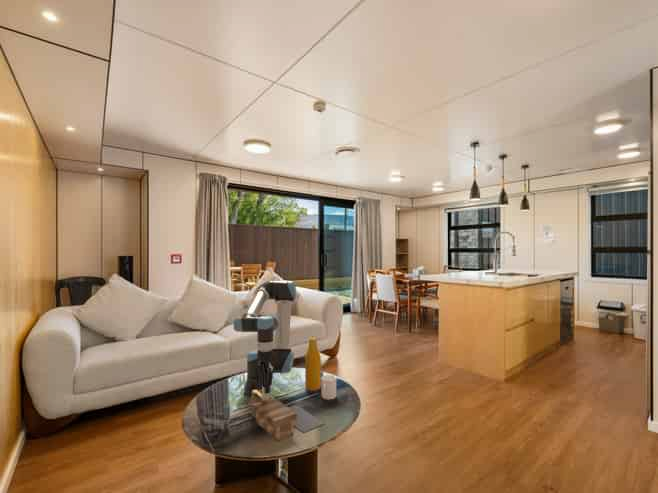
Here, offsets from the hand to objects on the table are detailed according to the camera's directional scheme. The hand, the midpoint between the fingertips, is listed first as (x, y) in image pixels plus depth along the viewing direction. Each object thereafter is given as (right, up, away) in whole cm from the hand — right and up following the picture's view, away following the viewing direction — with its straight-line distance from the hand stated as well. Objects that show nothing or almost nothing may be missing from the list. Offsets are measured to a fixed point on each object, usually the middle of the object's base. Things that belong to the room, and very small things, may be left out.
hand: (265, 399), depth 152 cm
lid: (+5, -4, -7) cm, 9 cm away
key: (-4, -1, +5) cm, 6 cm away
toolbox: (+3, -10, -4) cm, 11 cm away
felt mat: (+16, -10, +2) cm, 19 cm away
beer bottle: (+21, -11, +37) cm, 44 cm away
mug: (+29, -11, +24) cm, 39 cm away
